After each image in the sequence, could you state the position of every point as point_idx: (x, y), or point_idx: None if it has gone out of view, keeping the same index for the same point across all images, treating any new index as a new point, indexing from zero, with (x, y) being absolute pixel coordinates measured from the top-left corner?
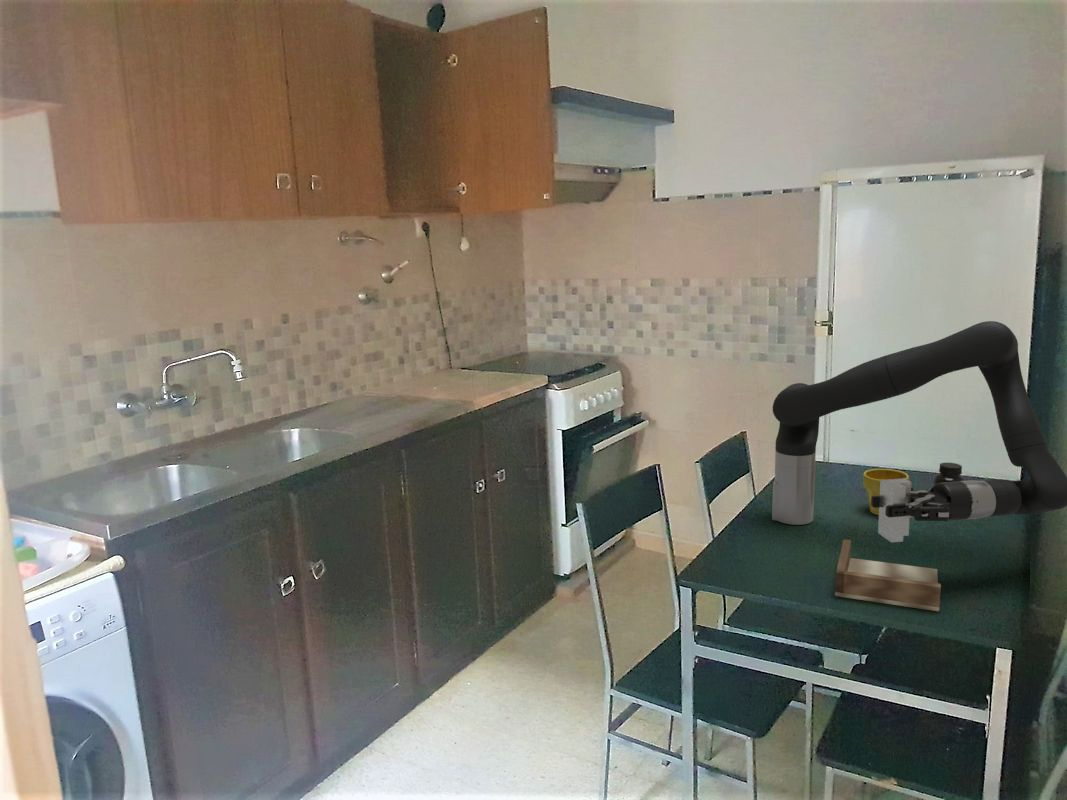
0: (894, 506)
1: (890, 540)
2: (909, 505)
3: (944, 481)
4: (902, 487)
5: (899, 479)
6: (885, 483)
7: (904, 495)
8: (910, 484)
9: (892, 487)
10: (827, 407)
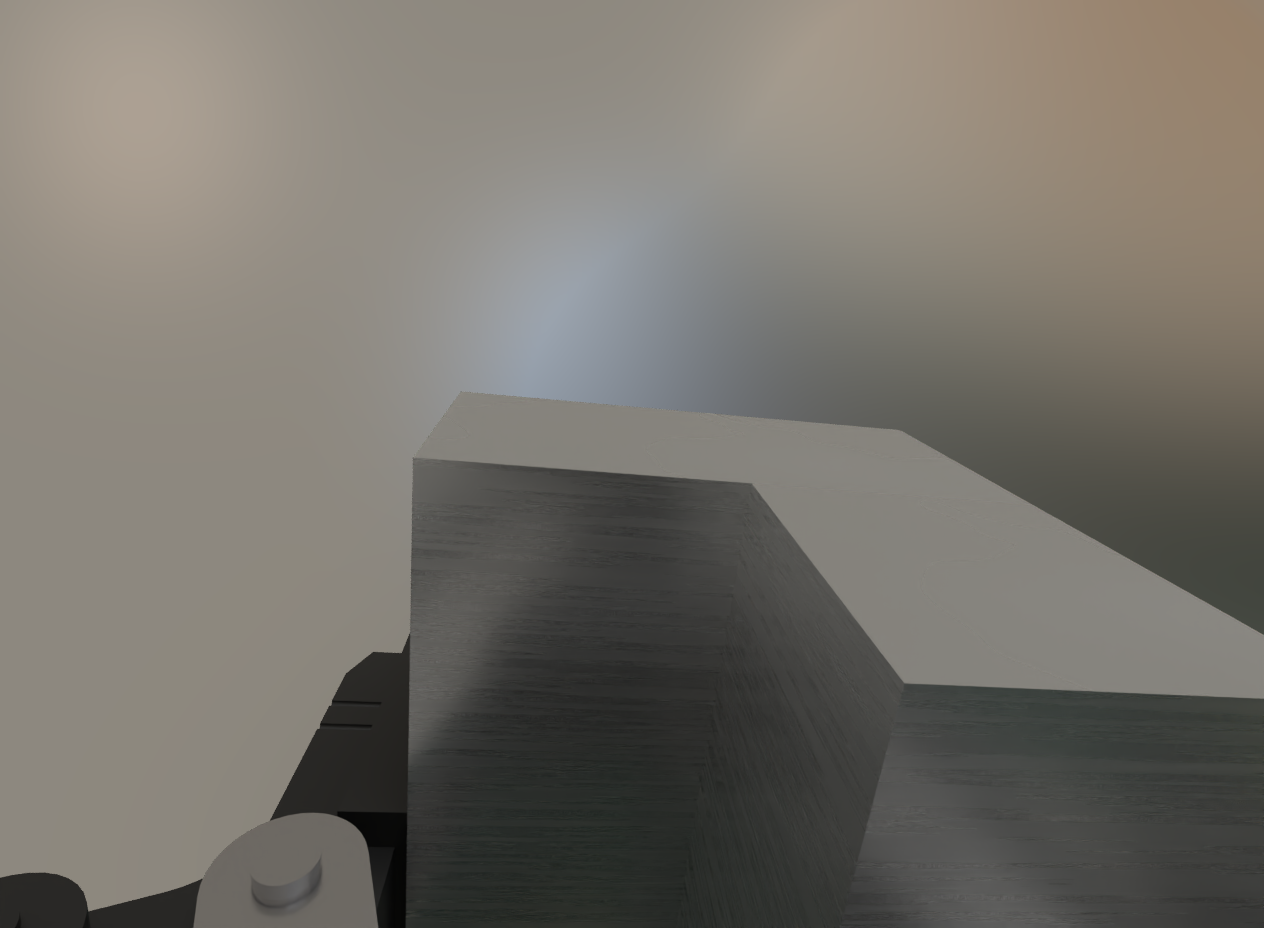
0: (397, 664)
1: None
2: (262, 833)
3: None
4: (435, 439)
5: (1088, 567)
6: (735, 421)
7: (412, 636)
8: (860, 747)
9: (506, 399)
10: None
